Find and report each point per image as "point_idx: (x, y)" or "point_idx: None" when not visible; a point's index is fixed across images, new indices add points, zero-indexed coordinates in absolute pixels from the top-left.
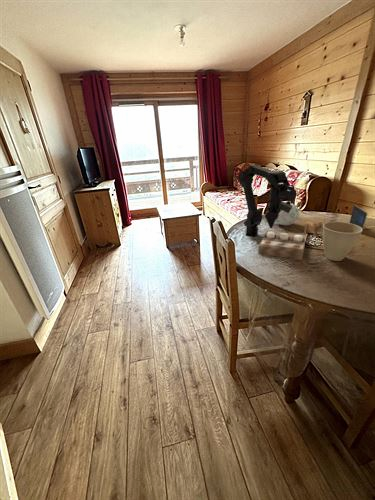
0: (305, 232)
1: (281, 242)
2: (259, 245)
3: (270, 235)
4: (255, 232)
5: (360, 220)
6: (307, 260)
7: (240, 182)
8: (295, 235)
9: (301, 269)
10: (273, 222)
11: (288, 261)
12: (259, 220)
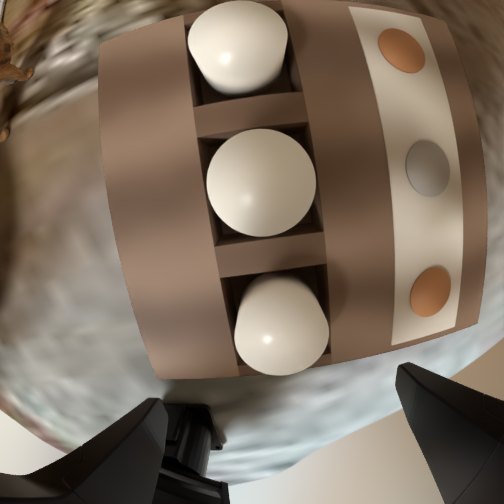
0: (4, 133)
1: (393, 177)
2: (477, 319)
3: (326, 322)
4: (187, 424)
5: None
6: None
7: None
8: (229, 62)
9: (487, 60)
10: (499, 404)
11: None
12: (157, 491)
